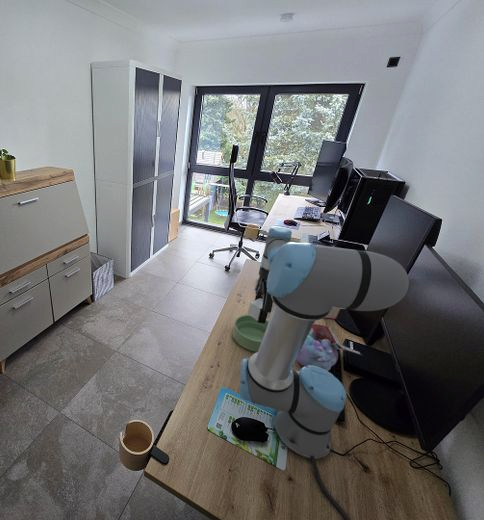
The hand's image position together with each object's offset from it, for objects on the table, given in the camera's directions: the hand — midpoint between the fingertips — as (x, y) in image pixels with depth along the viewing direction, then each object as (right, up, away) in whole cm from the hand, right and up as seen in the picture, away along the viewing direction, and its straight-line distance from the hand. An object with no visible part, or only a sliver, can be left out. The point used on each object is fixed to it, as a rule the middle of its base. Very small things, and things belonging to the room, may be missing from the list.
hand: (258, 315), depth 119 cm
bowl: (0, -11, +6) cm, 13 cm away
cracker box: (+43, -2, +25) cm, 50 cm away
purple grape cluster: (+21, -16, -3) cm, 27 cm away
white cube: (0, 0, 0) cm, 0 cm away
